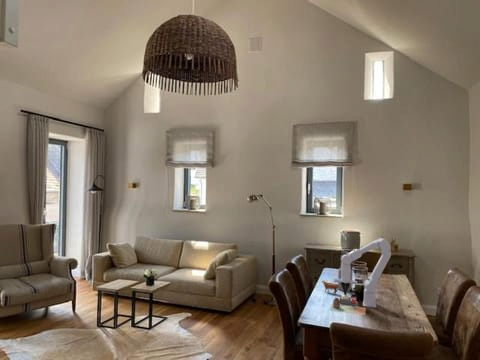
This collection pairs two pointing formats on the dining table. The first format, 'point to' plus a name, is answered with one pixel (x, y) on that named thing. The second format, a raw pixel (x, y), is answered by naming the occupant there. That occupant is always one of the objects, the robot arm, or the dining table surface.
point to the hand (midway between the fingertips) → (345, 294)
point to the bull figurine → (330, 286)
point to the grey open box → (348, 301)
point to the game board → (350, 309)
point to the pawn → (336, 303)
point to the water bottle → (340, 274)
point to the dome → (345, 297)
